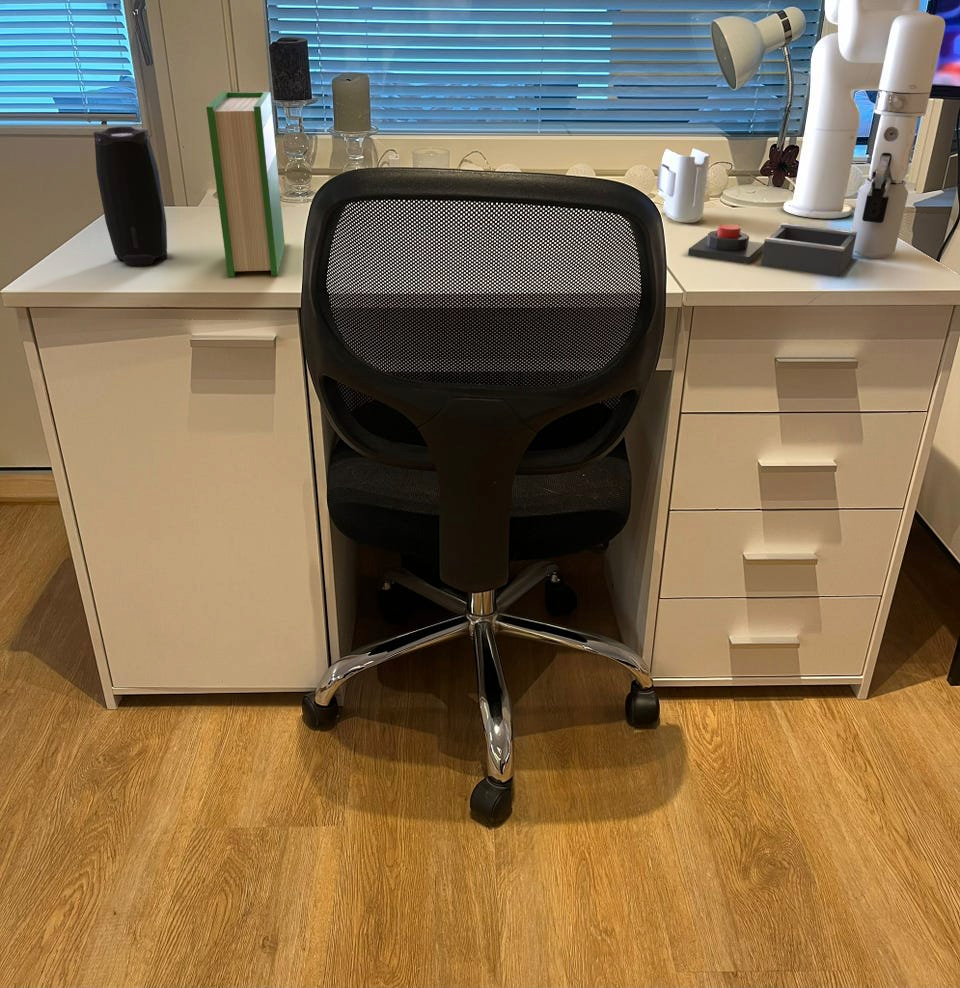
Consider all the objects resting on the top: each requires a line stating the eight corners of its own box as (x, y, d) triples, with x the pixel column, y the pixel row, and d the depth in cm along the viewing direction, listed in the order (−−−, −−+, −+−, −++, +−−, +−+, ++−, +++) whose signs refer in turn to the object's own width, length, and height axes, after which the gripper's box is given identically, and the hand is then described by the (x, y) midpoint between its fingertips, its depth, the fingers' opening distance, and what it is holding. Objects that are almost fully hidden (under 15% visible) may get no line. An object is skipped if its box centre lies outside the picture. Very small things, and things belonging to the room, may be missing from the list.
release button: (720, 233, 157) (721, 223, 156) (741, 236, 155) (743, 225, 154) (714, 238, 154) (715, 227, 153) (735, 241, 152) (737, 230, 152)
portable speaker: (129, 251, 154) (107, 124, 144) (182, 254, 152) (163, 127, 142) (101, 265, 146) (76, 132, 137) (156, 269, 145) (134, 135, 135)
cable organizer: (682, 210, 183) (690, 145, 177) (708, 225, 173) (717, 157, 167) (650, 211, 182) (657, 146, 176) (675, 226, 171) (682, 158, 166)
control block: (705, 242, 162) (707, 225, 160) (763, 250, 158) (766, 232, 156) (687, 255, 154) (689, 237, 153) (748, 264, 150) (750, 245, 149)
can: (897, 261, 153) (915, 185, 147) (849, 258, 154) (865, 182, 148) (889, 249, 159) (905, 176, 153) (843, 246, 160) (858, 173, 154)
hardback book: (277, 275, 142) (260, 106, 130) (228, 276, 141) (206, 107, 130) (284, 245, 157) (270, 91, 146) (240, 246, 157) (221, 92, 145)
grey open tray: (778, 249, 158) (782, 222, 156) (851, 258, 153) (857, 231, 151) (760, 266, 149) (764, 238, 147) (838, 277, 144) (843, 248, 142)
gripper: (920, 112, 137) (893, 229, 145) (933, 99, 150) (908, 207, 158) (867, 108, 140) (843, 223, 148) (884, 96, 153) (862, 202, 162)
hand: (877, 215), depth 153 cm, fingers open, 9 cm apart
